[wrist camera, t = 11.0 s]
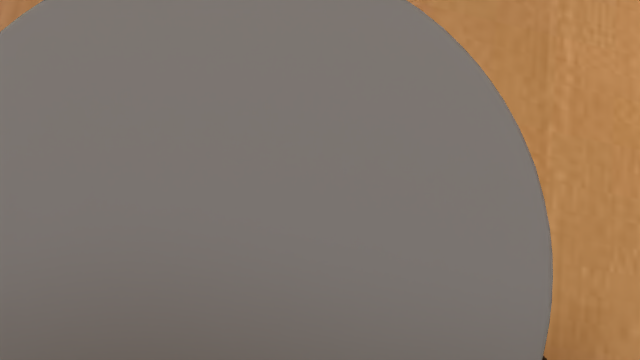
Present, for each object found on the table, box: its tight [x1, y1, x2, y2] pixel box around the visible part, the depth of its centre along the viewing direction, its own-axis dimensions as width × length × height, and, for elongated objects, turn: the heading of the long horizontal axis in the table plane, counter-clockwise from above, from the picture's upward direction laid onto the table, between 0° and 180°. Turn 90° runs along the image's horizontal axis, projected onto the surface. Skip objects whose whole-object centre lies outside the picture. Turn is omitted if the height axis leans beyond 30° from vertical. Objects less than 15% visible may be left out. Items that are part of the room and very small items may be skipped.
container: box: [0, 0, 553, 360], centre depth 11 cm, size 5×5×15 cm
